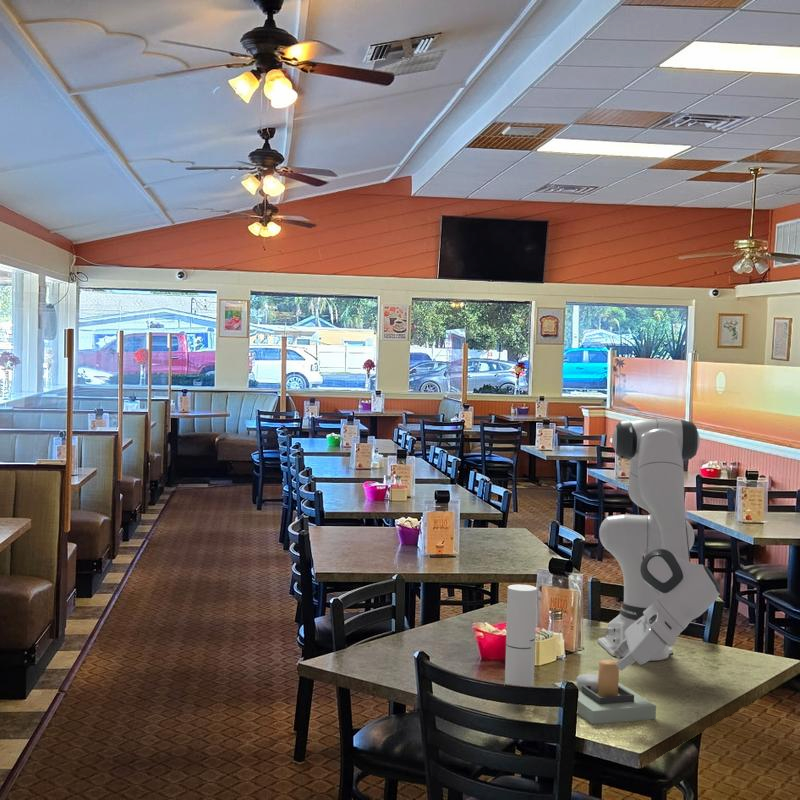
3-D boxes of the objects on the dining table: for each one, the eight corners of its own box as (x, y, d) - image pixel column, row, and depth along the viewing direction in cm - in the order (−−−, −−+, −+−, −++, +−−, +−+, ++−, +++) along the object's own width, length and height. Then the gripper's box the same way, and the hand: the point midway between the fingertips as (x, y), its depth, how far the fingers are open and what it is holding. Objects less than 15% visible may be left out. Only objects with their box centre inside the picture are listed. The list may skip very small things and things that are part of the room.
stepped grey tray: (553, 695, 240) (554, 674, 240) (612, 690, 244) (613, 670, 244) (592, 724, 221) (593, 702, 221) (655, 718, 225) (656, 697, 225)
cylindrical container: (539, 687, 245) (542, 587, 244) (522, 694, 240) (525, 592, 239) (515, 681, 250) (518, 583, 249) (498, 687, 245) (501, 587, 244)
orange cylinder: (594, 694, 232) (595, 660, 232) (611, 692, 234) (612, 659, 233) (603, 700, 228) (604, 666, 228) (621, 699, 229) (622, 665, 229)
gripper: (647, 601, 239) (604, 639, 241) (656, 623, 219) (609, 663, 220) (665, 621, 238) (623, 658, 240) (676, 644, 218) (629, 685, 220)
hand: (616, 661), depth 230 cm, fingers open, 8 cm apart
